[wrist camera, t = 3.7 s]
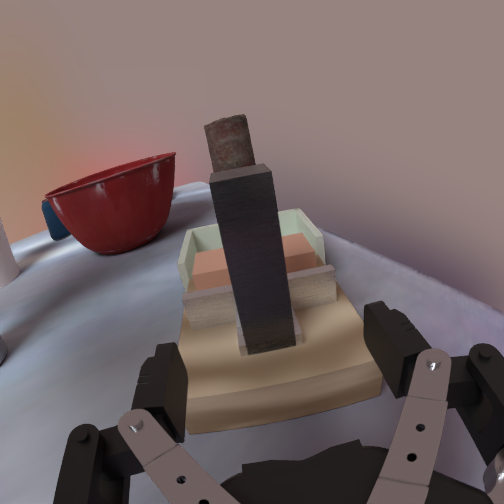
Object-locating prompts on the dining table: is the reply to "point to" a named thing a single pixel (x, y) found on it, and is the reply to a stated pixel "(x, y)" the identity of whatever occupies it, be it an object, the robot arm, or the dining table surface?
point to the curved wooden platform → (277, 370)
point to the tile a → (210, 270)
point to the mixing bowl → (118, 204)
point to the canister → (6, 260)
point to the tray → (211, 240)
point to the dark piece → (256, 268)
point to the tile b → (298, 253)
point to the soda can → (54, 222)
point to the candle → (229, 143)
